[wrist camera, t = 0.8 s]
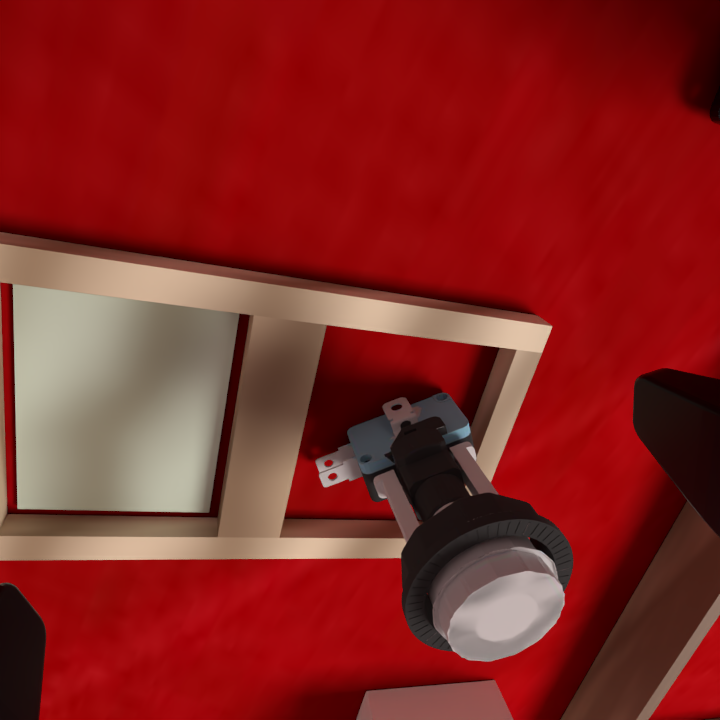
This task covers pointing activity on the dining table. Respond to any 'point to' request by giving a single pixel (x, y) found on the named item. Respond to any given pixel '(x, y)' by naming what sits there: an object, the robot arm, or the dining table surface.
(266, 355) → the wooden double frame
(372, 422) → the push button
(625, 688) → the tray rim
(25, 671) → the robot arm
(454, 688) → the crayon stand
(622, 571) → the dining table surface
